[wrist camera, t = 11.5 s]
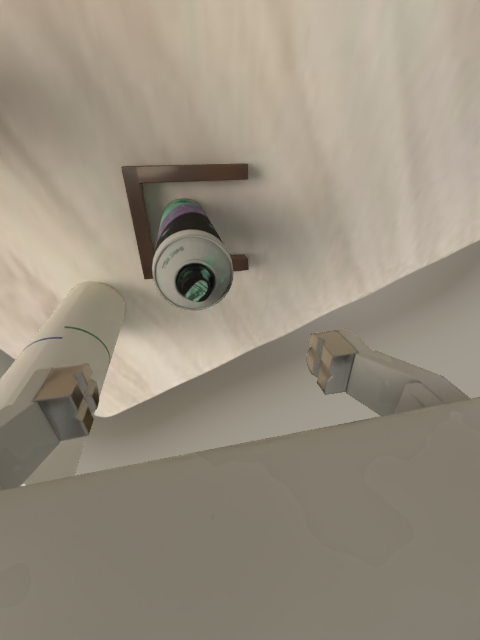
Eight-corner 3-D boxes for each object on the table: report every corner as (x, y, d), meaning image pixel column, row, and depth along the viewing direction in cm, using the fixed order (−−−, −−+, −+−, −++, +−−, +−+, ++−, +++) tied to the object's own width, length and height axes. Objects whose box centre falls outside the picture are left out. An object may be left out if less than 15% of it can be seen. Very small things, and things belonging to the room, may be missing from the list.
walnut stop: (244, 163, 31) (248, 163, 29) (244, 265, 37) (248, 270, 36) (124, 166, 29) (121, 166, 27) (146, 273, 35) (144, 279, 33)
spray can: (210, 202, 32) (250, 250, 16) (204, 248, 35) (234, 331, 18) (162, 194, 31) (149, 237, 14) (160, 242, 34) (147, 327, 17)
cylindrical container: (57, 284, 33) (-141, 497, 12) (119, 279, 35) (35, 466, 14) (75, 333, 37) (-55, 562, 16) (130, 327, 38) (77, 533, 17)
